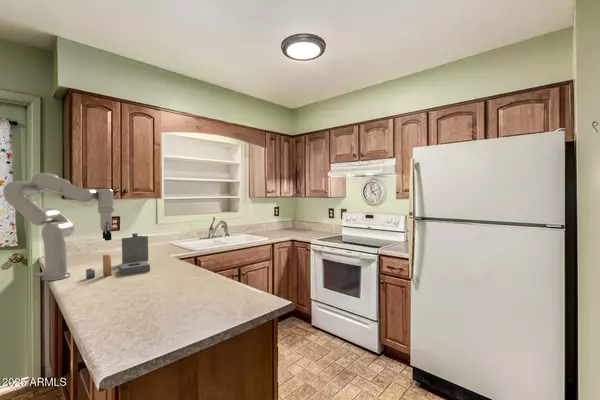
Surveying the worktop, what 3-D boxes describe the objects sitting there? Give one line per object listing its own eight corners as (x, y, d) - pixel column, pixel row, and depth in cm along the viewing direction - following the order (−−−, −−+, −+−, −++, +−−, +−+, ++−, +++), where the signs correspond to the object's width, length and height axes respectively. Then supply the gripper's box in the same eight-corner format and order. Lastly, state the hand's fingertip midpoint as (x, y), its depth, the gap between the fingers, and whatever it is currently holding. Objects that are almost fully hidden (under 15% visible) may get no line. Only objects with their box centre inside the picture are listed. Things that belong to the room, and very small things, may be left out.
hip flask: (122, 264, 195) (121, 234, 194) (121, 263, 198) (121, 234, 197) (148, 260, 204) (148, 232, 204) (147, 259, 208) (147, 232, 207)
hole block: (121, 275, 169) (121, 268, 169) (118, 271, 179) (118, 264, 178) (150, 270, 179) (149, 264, 179) (145, 267, 188) (145, 260, 188)
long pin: (103, 276, 167) (103, 256, 167) (102, 275, 170) (102, 254, 170) (111, 275, 170) (111, 255, 169) (110, 273, 173) (110, 254, 172)
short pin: (86, 279, 162) (86, 270, 162) (86, 277, 165) (85, 269, 165) (95, 278, 164) (95, 269, 164) (94, 276, 168) (94, 268, 167)
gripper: (96, 209, 173) (97, 238, 173) (99, 211, 159) (100, 242, 160) (111, 209, 178) (112, 236, 178) (115, 210, 164) (116, 240, 165)
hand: (107, 239), depth 169 cm, fingers open, 9 cm apart
